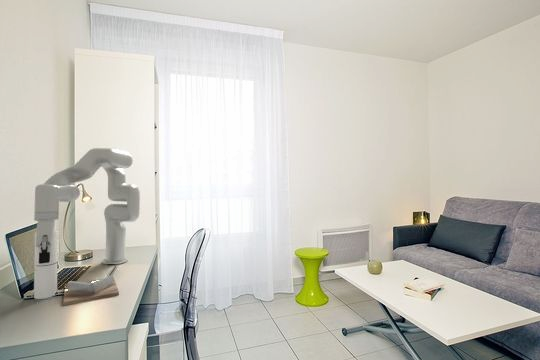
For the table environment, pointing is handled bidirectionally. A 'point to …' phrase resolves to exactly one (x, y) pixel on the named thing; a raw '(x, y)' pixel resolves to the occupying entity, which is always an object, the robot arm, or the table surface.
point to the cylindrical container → (46, 271)
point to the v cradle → (90, 290)
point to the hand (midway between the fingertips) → (45, 259)
